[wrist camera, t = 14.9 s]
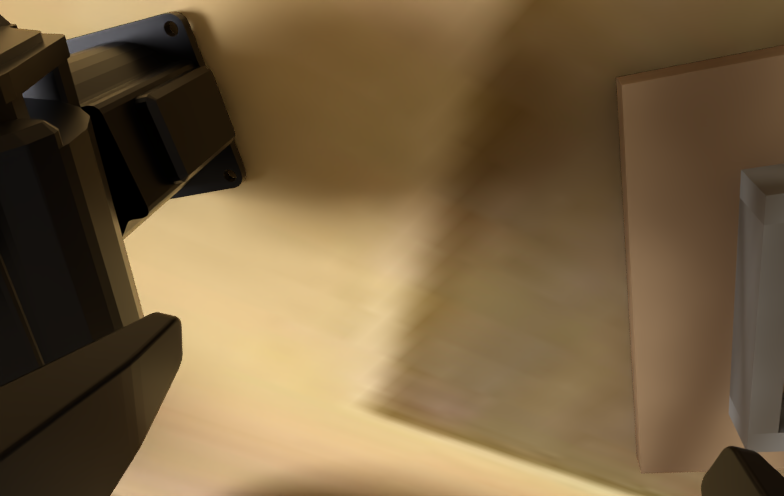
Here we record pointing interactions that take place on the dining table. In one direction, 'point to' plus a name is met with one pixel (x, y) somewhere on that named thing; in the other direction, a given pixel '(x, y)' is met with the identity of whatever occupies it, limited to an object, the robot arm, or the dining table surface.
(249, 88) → the dining table surface
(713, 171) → the collar board
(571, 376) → the dining table surface
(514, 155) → the dining table surface
